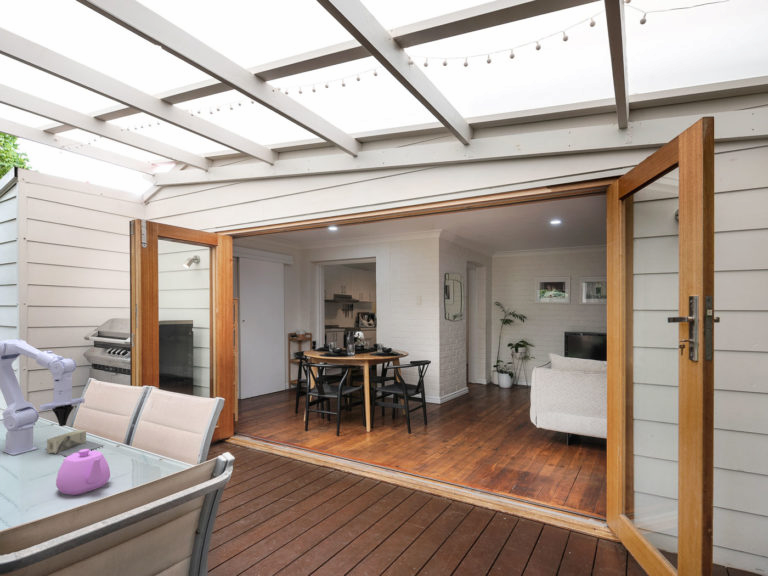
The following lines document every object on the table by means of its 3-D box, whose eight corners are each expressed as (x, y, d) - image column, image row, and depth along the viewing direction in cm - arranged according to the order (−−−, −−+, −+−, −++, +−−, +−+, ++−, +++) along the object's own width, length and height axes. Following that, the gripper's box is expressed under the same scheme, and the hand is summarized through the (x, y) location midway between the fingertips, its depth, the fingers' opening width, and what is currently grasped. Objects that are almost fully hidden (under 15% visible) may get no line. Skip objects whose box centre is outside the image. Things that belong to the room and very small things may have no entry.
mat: (45, 450, 166) (45, 448, 166) (82, 440, 178) (82, 439, 178) (67, 457, 158) (67, 456, 158) (104, 446, 169) (104, 445, 169)
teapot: (46, 489, 131) (47, 451, 132) (94, 474, 142) (95, 439, 143) (73, 506, 120) (74, 464, 120) (124, 488, 131) (124, 450, 132)
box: (55, 440, 161) (86, 429, 173) (46, 439, 162) (78, 428, 174) (55, 454, 161) (86, 442, 173) (46, 453, 162) (78, 441, 174)
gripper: (45, 394, 156) (45, 432, 156) (88, 387, 169) (88, 422, 169) (36, 393, 160) (36, 429, 159) (79, 386, 172) (79, 419, 172)
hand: (62, 425), depth 164 cm, fingers closed
